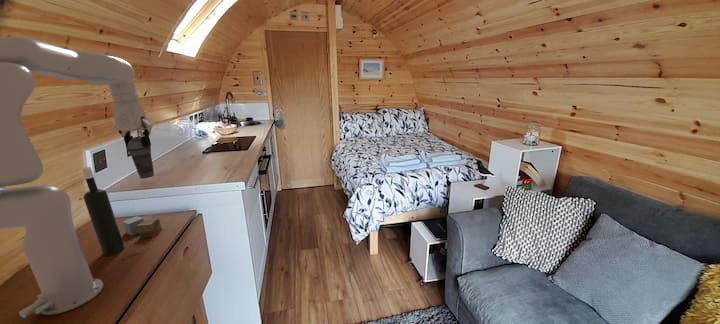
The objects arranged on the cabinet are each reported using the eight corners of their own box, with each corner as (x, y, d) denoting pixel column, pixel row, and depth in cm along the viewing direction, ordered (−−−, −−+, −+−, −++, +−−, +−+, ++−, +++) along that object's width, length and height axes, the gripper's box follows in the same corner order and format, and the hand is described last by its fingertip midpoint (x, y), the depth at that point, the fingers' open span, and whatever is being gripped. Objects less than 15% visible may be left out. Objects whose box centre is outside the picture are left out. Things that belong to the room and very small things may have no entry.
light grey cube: (132, 235, 111) (128, 224, 110) (126, 233, 114) (122, 221, 112) (146, 229, 115) (143, 218, 114) (140, 227, 118) (137, 216, 117)
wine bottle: (99, 253, 100) (70, 169, 92) (118, 245, 105) (92, 164, 97) (108, 257, 98) (79, 171, 89) (128, 248, 103) (101, 165, 94)
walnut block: (154, 236, 110) (150, 224, 108) (140, 237, 110) (136, 225, 108) (162, 230, 115) (158, 218, 113) (148, 231, 114) (145, 219, 113)
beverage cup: (140, 175, 118) (126, 125, 113) (160, 172, 120) (148, 123, 115) (132, 180, 112) (117, 128, 106) (154, 177, 114) (140, 126, 108)
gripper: (96, 101, 106) (111, 149, 111) (136, 98, 103) (149, 148, 107) (116, 99, 113) (129, 144, 118) (154, 97, 110) (166, 144, 114)
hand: (138, 146), depth 113 cm, fingers closed on beverage cup, 6 cm apart
